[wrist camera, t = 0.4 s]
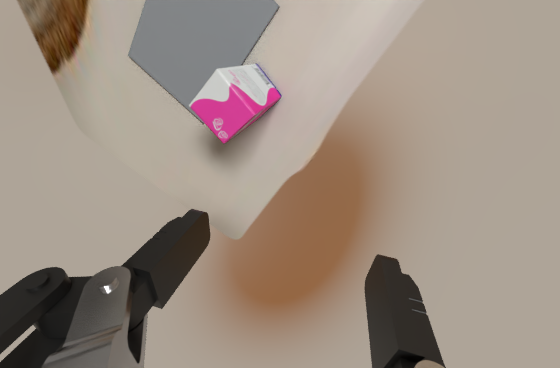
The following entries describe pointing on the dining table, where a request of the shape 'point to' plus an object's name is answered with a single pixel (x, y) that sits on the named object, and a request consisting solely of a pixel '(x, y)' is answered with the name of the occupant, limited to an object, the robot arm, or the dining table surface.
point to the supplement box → (234, 99)
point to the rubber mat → (196, 40)
